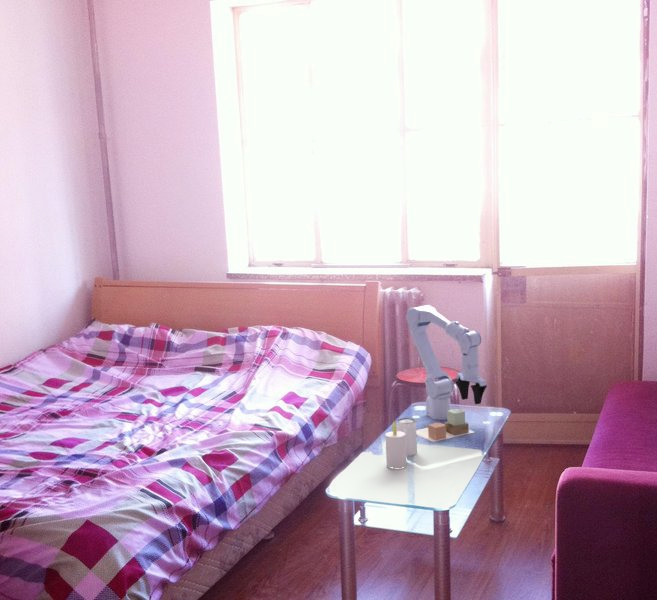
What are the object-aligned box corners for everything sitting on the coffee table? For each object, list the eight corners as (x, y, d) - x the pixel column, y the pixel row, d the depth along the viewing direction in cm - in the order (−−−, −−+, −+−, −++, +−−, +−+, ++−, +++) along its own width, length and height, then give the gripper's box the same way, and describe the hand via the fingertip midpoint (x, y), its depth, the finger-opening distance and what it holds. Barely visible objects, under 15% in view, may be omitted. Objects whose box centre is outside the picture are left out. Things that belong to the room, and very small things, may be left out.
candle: (406, 462, 248) (405, 417, 246) (405, 469, 242) (404, 423, 240) (387, 462, 249) (385, 417, 247) (385, 469, 243) (384, 423, 241)
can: (395, 458, 252) (394, 423, 250) (399, 451, 258) (398, 417, 257) (415, 459, 250) (414, 423, 249) (418, 452, 256) (417, 417, 255)
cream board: (410, 434, 276) (410, 431, 276) (451, 425, 284) (451, 422, 284) (432, 444, 264) (432, 441, 263) (475, 434, 272) (475, 432, 271)
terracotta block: (428, 436, 269) (428, 424, 268) (438, 434, 271) (438, 422, 270) (435, 440, 265) (435, 427, 264) (446, 437, 267) (445, 425, 266)
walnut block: (444, 431, 274) (444, 422, 274) (458, 428, 277) (458, 419, 276) (454, 435, 269) (454, 426, 268) (468, 432, 271) (468, 423, 271)
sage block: (457, 420, 275) (457, 408, 275) (465, 423, 271) (464, 411, 271) (447, 422, 273) (447, 410, 273) (455, 425, 269) (454, 413, 269)
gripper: (449, 362, 281) (450, 398, 283) (473, 370, 268) (474, 407, 270) (464, 360, 284) (465, 395, 286) (490, 367, 271) (490, 404, 273)
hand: (471, 401), depth 278 cm, fingers open, 7 cm apart
